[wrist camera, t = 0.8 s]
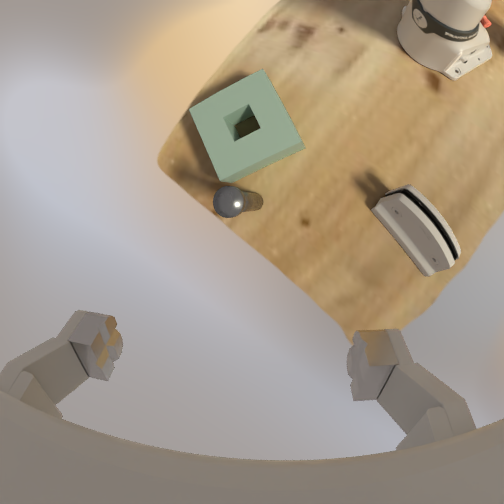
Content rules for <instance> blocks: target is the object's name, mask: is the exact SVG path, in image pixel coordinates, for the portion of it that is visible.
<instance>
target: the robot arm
mask: <svg viewBox="0 0 504 504" xmlns="http://www.w3.org/2000/svg"><path fill="white" fill-rule="evenodd" d="M491 3H492V0H410V2H409V4H408V6H404V7H403V9H402V19H401V21H400V22H399V24H398V27H397V35H398V39H399V41H400V43H401V45H402V47H403V48H404V50H405V51H406V52H407V53H408V54H409V55H410V56H411V57H412V58H413V59H414V60H416V61H417V62H418V63H420V64H422V65H423V66H425V67H428V68H430V69H433V70H436V71H439V72H441V73H443V74H444V75H445V76H447V77H448V78H450V79H451V80H457V79H459V78H460V77H462V76H463V75H465V74H467V73H468V72H470V71H472V70H473V69H475V68H477V67H478V66H480V65H481V64H483V63H485V62H486V61H488V60H490V59H491V57H492V52H491V48H490V46H489V42H490V39H489V35H488V33H487V31H486V29H485V28H487V27H489V26H490V25H491V22H490V21H489V20H488V19H487V18H486V16H485V14H486V12H487V11H488V9H489V8H490V6H491ZM455 71H457V73H456V72H455ZM116 326H117V323H116V320H115V317H113V316H110V315H104V314H99V313H94V312H87V311H81V310H78V311H75V313H74V314H73V315H72V317H71V318H70V319H69V321H68V322H67V323H66V325H65V326H64V327H63V329H62V330H61V332H60V333H59V334H58V336H57V337H56V338H51V339H49V340H47V341H46V342H44V343H42V344H40V345H38V346H37V347H35V348H33V349H31V350H29V351H28V352H26V353H24V354H22V355H20V356H19V357H17V358H15V359H13V360H12V361H10V362H8V363H7V364H6V366H5V367H4V369H3V370H2V372H1V373H0V504H504V419H502V420H499V421H497V422H494V423H492V424H489V425H486V426H484V427H481V428H479V429H476V426H475V424H474V421H473V419H472V416H471V413H470V411H469V408H468V406H467V403H466V402H465V399H464V398H462V397H461V396H460V395H458V394H457V393H456V392H455V391H453V390H452V389H451V388H449V387H448V386H447V385H446V384H444V383H443V382H442V381H440V380H439V379H438V378H437V377H435V376H434V375H433V374H431V373H430V372H429V371H427V370H426V369H425V368H423V367H422V366H421V365H420V364H418V363H414V362H413V360H412V357H411V355H410V352H409V350H408V348H407V346H406V343H405V341H404V339H403V336H402V334H401V332H400V330H399V329H384V330H359V331H356V332H355V333H354V336H353V343H354V345H353V346H352V347H351V348H350V349H349V352H348V355H347V371H348V375H349V376H350V377H351V378H352V379H353V380H352V382H351V385H350V386H351V391H352V395H353V400H354V401H363V400H377V402H378V403H379V404H380V405H381V406H382V407H383V408H384V409H385V411H386V412H387V413H388V414H389V415H390V416H391V417H392V419H394V421H395V422H396V423H397V424H398V425H399V426H400V427H401V428H402V430H403V431H404V432H405V433H406V434H407V436H406V437H405V438H404V439H403V440H402V441H401V442H400V443H399V445H398V446H397V447H396V451H390V452H384V453H378V454H371V455H364V456H356V457H346V458H335V459H322V460H293V461H291V460H290V461H289V460H286V461H285V460H283V461H282V460H281V461H279V460H251V459H236V458H225V457H215V456H207V455H199V454H192V453H186V452H180V451H174V450H169V449H164V448H159V447H154V446H149V445H145V444H141V443H137V442H132V441H129V440H125V439H121V438H118V437H114V436H111V435H107V434H104V433H100V432H97V431H94V430H91V429H88V428H85V427H82V426H80V425H77V424H74V423H71V422H69V421H66V420H63V419H62V417H63V416H62V413H61V412H60V411H59V410H58V408H57V407H56V406H55V405H56V404H57V403H59V402H60V401H61V400H62V399H63V398H65V397H66V396H67V395H68V394H69V393H71V392H72V391H73V390H75V389H76V388H77V387H78V386H79V385H81V384H82V383H83V382H84V381H85V380H87V379H88V378H89V377H92V378H96V379H100V380H105V381H108V380H109V378H110V376H111V374H112V372H113V370H114V368H115V367H114V364H113V362H114V361H116V360H117V359H119V357H120V355H121V353H122V347H123V342H122V337H121V334H120V333H119V332H118V331H117V330H116V329H115V328H116Z"/></svg>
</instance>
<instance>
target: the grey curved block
mask: <svg viewBox="0 0 504 504" xmlns="http://www.w3.org/2000/svg"><path fill="white" fill-rule="evenodd" d="M385 195H386V196H385V197H383V198H380V200H379V201H378V203H377V204H376V206H375V207H373V208H372V209H371V211H372V212H373V213H374V214H375V216H376V217H377V218H378V219H379V220H380V221H381V223H382V224H383V225H384V226H385V227H386V228H387V230H388V231H389V232H390V233H391V234H392V236H393V237H394V238H395V239H396V240H397V242H398V243H399V244H400V245H401V247H402V248H403V249H404V250H405V252H406V253H407V254H408V255H409V257H410V258H411V259H412V261H413V262H414V263H415V264H416V266H417V267H418V268H419V270H420V271H421V272H422V274H423V275H424V276H430V275H432V274H434V273H435V272H438V271H442V270H446V269H449V268H451V267H452V266H453V265H454V264H455V260H456V259H458V258H459V256H460V253H461V249H460V246H459V244H458V242H457V239H456V237H455V235H454V234H453V232H452V230H451V228H450V227H449V225H448V224H447V222H446V221H445V219H444V218H443V217H442V215H441V214H440V213H439V212H438V210H437V209H436V208H435V207H434V206H433V205H432V204H431V202H430V201H429V200H428V199H427V198H426V197H425V196H423V195H422V194H421V193H420V192H419V191H418V190H417V189H415V188H414V187H413V186H411V185H405V186H402V187H399V188H396V189H393V190H390V191H388V192H387V193H385Z"/></svg>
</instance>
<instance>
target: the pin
mask: <svg viewBox="0 0 504 504" xmlns="http://www.w3.org/2000/svg"><path fill="white" fill-rule="evenodd" d="M262 205H263V198H262V196H261V195H259V194H258V193H251V192H242V191H241V190H240V189H238V188H236V187H233V186H225V187H222V188H220V189H219V190H218V191H217V192H216V193H215V195H214V198H213V206H214V209H215V211H216V212H217V213H218V214H219V215H220V216H222V217H225V218H231V217H236V216H238V215H239V214H241V213H242V212H246V211H255V210H259V209H260V208H261V207H262Z"/></svg>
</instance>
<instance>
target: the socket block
mask: <svg viewBox="0 0 504 504" xmlns="http://www.w3.org/2000/svg"><path fill="white" fill-rule="evenodd" d="M189 111H190V113H191V115H192V117H193V120H194V122H195V124H196V127H197V129H198V131H199V134H200V136H201V138H202V141H203V143H204V145H205V147H206V150H207V152H208V154H209V157H210V159H211V161H212V164H213V166H214V168H215V171H216V173H217V175H218V178H219V180H220V181H223V182H229V183H233V182H235V181H237V180H239V179H241V178H243V177H245V176H247V175H249V174H251V173H253V172H255V171H257V170H260V169H262V168H264V167H266V166H268V165H270V164H272V163H274V162H276V161H279V160H281V159H283V158H285V157H287V156H289V155H292V154H294V153H296V152H298V151H300V150H303V149H305V146H304V144H303V142H302V140H301V138H300V136H299V134H298V132H297V130H296V128H295V126H294V124H293V122H292V120H291V118H290V116H289V114H288V112H287V110H286V109H285V107H284V105H283V103H282V101H281V99H280V97H279V96H278V94H277V92H276V90H275V88H274V87H273V85H272V83H271V81H270V80H269V78H268V76H267V75H266V73H265V71H264V70H263V69H261V70H259V71H257V72H255V73H253V74H251V75H249V76H247V77H245V78H243V79H241V80H240V81H238V82H236V83H234V84H232V85H230V86H228V87H226V88H225V89H223V90H221V91H219V92H217V93H216V94H214V95H212V96H210V97H209V98H207V99H205V100H204V101H202V102H200V103H198V104H197V105H195V106H193V107H192V108H190V109H189ZM254 115H255V117H256V119H257V121H258V123H259V125H260V127H261V128H260V129H258V130H256V131H254V132H252V133H250V134H248V135H246V136H244V137H242V138H240V136H239V134H238V132H237V130H236V128H235V125H236V124H238V123H240V122H242V121H244V120H246V119H248V118H250V117H252V116H254Z"/></svg>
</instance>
